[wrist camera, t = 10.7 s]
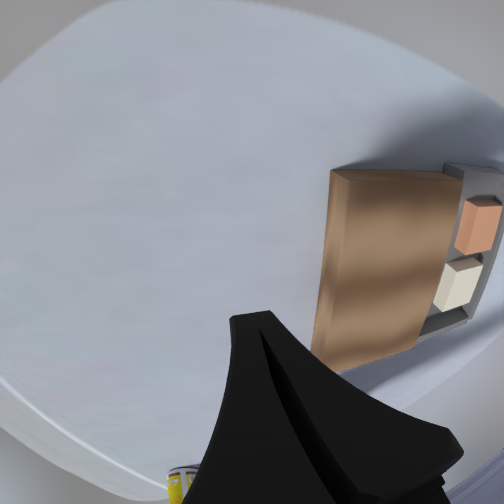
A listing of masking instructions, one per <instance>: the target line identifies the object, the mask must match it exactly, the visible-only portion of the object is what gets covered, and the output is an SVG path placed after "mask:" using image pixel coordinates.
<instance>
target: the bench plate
mask: <svg viewBox="0 0 504 504" xmlns="http://www.w3.org/2000/svg"><path fill="white" fill-rule="evenodd" d="M462 188H463V182H462V181H460V180H457V179H455V178H453V177H451V176H448V175H446V174H444V173H442V172H425V171H398V170H330V186H329V199H328V212H327V223H326V234H325V244H324V254H323V263H322V272H321V280H320V288H319V296H318V303H317V311H316V318H315V325H314V331H313V338H312V344H311V351H310V352H311V353H312V354H313V355H314V356H315V357H317V358H318V359H319V360H320V361H321V362H322V363H324V364H325V365H326V366H327V367H328V368H330V369H331V370H332V371H334V372H339V371H342V370H346V369H350V368H353V367H357V366H360V365H363V364H367V363H370V362H373V361H376V360H379V359H382V358H386V357H389V356H392V355H394V354H397V353H400V352H403V351H406V350H409V349H412V348H414V346H415V343H416V341H417V339H418V336H419V334H420V331H421V329H422V326H423V324H424V321H425V319H426V316H427V314H428V311H429V308H430V306H431V303H432V300H433V297H434V294H435V291H436V288H437V285H438V282H439V279H440V276H441V273H442V270H443V266H444V263H445V260H446V256H447V253H448V249H449V245H450V242H451V238H452V234H453V230H454V226H455V222H456V217H457V213H458V208H459V203H460V198H461V193H462Z"/></svg>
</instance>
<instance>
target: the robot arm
mask: <svg viewBox="0 0 504 504" xmlns="http://www.w3.org/2000/svg"><path fill="white" fill-rule="evenodd" d="M229 321H230V333H231V356H230V365H229V372H228V377H227V382H226V388H225V392H224V397H223V401H222V405H221V408H220V412H219V415H218V419H217V422H216V425H215V428H214V431H213V434H212V437H211V440H210V443H209V445H208V448H207V450H206V453H205V455H204V457H203V460H202V462H201V464H200V467H199V469H198V472H197V474H196V476H195V478H194V480H193V482H192V484H191V486H190V488H189V490H188V492H187V494H186V496H185V497H184V499H183V501H182V503H181V504H504V448H503V449H502V450H501V451H500V452H499V453H498V454H497V455H495V456H494V457H493V458H492V459H491V460H489V461H488V462H487V463H486V464H484V465H483V466H482V467H481V468H479V469H478V470H477V471H475V472H474V473H473V474H472V475H470V476H469V477H467V478H466V479H465V480H463V481H462V482H460V483H459V484H458V485H456V486H455V487H453V488H452V489H450V490H449V491H447V492H446V493H445V492H444V490H443V488H442V486H443V485H444V484H445V481H444V479H443V477H442V476H441V475H442V474H443V473H444V472H446V471H447V470H448V469H449V468H450V467H452V466H453V465H454V464H455V463H456V462H457V461H458V460H459V459H460V458H461V457H462V456H463V454H464V451H463V449H462V447H461V446H460V444H459V442H458V441H457V439H456V438H455V436H454V435H453V434H452V432H451V431H450V430H449V429H448V428H445V427H442V426H439V425H436V424H432V423H429V422H426V421H423V420H420V419H417V418H415V417H412V416H410V415H407V414H405V413H403V412H400V411H398V410H396V409H394V408H392V407H390V406H388V405H386V404H384V403H382V402H380V401H378V400H376V399H374V398H373V397H371V396H369V395H367V394H366V393H364V392H362V391H361V390H359V389H358V388H356V387H355V386H353V385H352V384H350V383H349V382H347V381H346V380H344V379H343V378H341V377H340V376H339V375H337V374H336V373H335V372H334V371H332V370H331V369H330V368H328V367H327V366H326V365H325V364H324V363H322V362H321V361H320V360H319V359H318V358H317V357H315V356H314V355H313V354H312V353H311V352H310V351H309V350H308V349H307V348H306V347H305V346H304V345H302V344H301V343H300V342H299V341H298V340H297V339H296V338H295V337H294V336H293V335H292V334H291V333H290V331H289V330H288V329H287V328H286V327H285V326H284V325H283V324H282V323H281V322H280V321H279V319H278V318H277V317H276V316H275V315H274V314H273V313H272V312H271V311H270V310H268V311H261V312H255V313H248V314H241V315H234V316H232V317H231V318H230V319H229Z"/></svg>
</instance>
